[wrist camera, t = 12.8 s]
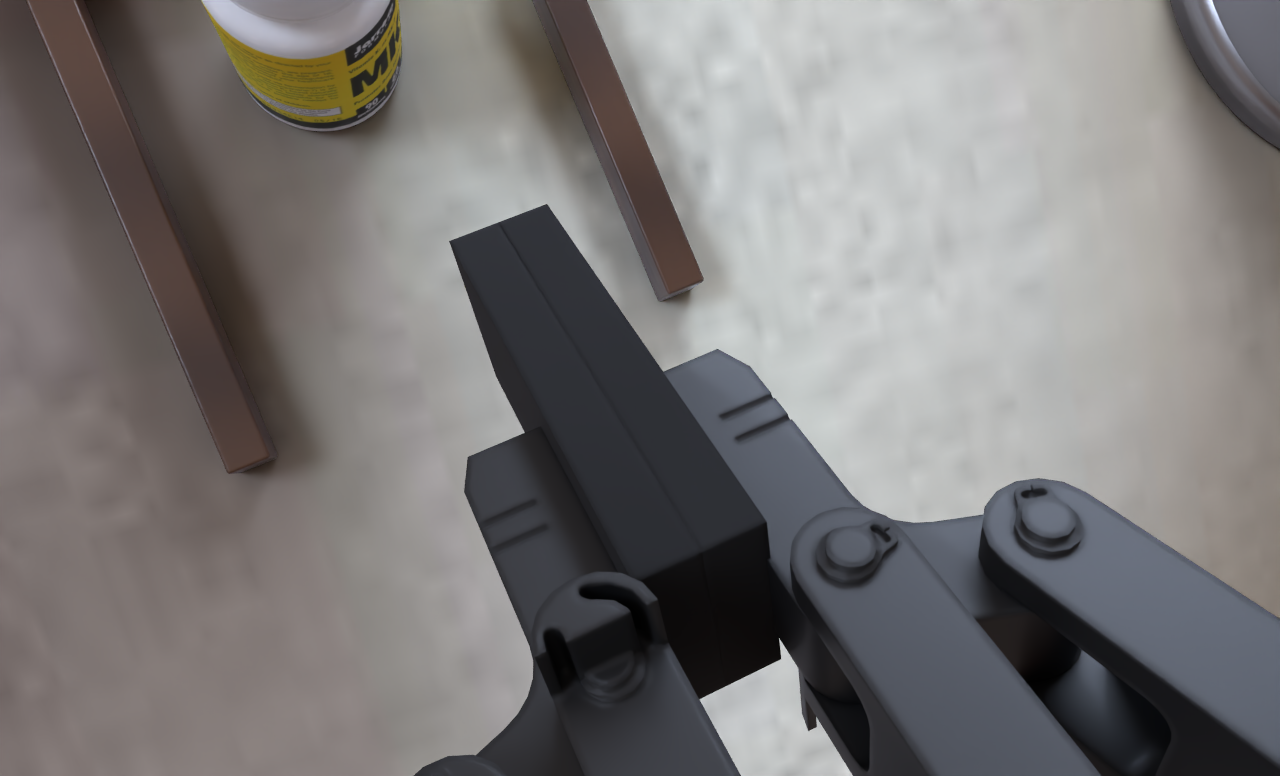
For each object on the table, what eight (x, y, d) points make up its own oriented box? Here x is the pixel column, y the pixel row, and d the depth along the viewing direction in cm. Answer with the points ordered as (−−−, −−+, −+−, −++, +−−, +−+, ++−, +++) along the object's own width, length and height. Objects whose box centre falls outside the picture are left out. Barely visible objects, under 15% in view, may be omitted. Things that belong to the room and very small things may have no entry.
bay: (693, 288, 33) (705, 280, 31) (238, 474, 30) (227, 474, 28) (488, -199, 32) (491, -230, 31) (11, -58, 30) (-12, -86, 28)
